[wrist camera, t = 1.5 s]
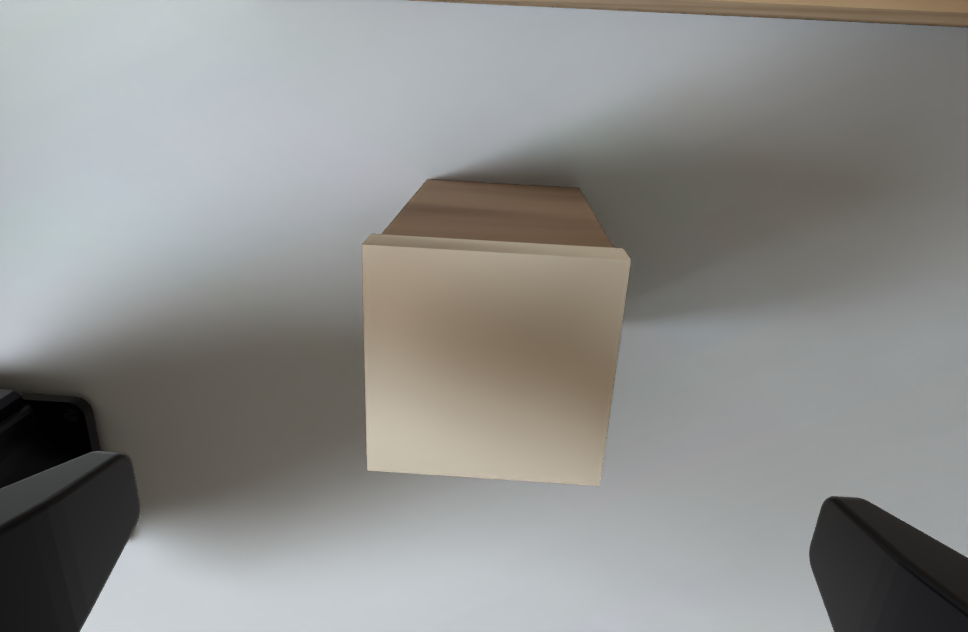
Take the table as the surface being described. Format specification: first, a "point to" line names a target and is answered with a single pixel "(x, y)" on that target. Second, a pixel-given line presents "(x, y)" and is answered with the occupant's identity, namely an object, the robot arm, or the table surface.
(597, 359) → the brown wooden block
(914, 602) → the robot arm
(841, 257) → the table surface
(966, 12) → the wooden tray
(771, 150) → the table surface
